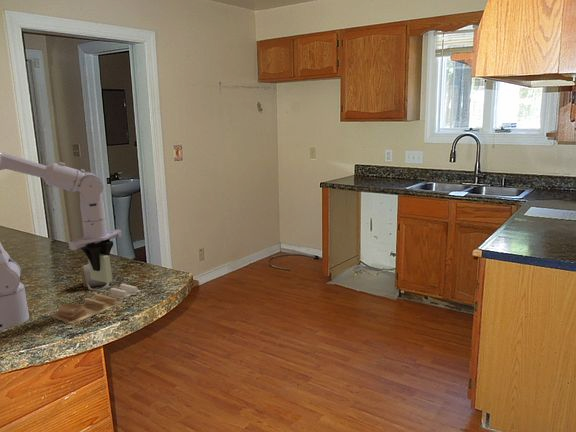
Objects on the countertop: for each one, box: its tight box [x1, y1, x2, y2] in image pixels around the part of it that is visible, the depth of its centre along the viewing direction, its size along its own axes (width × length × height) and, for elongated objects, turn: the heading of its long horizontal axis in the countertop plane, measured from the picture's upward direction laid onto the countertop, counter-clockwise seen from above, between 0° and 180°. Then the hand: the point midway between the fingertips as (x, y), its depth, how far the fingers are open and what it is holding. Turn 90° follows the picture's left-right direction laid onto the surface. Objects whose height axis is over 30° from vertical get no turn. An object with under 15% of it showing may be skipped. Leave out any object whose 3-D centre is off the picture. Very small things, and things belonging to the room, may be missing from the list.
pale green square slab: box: [87, 254, 113, 283], centre depth 125 cm, size 2×7×7 cm, turn 58°
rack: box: [50, 293, 123, 325], centre depth 123 cm, size 15×9×2 cm, turn 148°
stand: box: [107, 283, 142, 300], centre depth 134 cm, size 7×6×2 cm
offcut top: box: [57, 302, 84, 315], centre depth 119 cm, size 4×5×1 cm
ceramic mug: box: [80, 263, 113, 291], centre depth 141 cm, size 11×8×8 cm
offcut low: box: [56, 310, 87, 321], centre depth 119 cm, size 4×6×1 cm, turn 58°
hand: (100, 269), depth 125 cm, fingers closed on pale green square slab, 2 cm apart
